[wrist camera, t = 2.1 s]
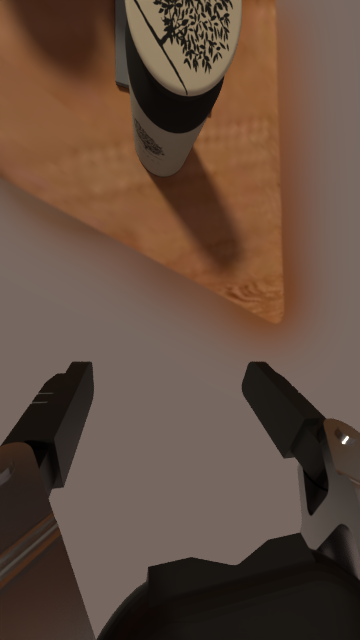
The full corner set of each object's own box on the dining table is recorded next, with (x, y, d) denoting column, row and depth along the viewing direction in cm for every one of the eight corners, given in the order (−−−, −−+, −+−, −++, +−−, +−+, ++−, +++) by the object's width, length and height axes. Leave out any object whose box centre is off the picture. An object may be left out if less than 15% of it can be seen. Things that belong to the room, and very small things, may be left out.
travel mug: (167, 94, 26) (208, -163, 9) (196, 156, 29) (264, 48, 13) (122, 132, 26) (88, -45, 10) (156, 188, 30) (171, 125, 13)
